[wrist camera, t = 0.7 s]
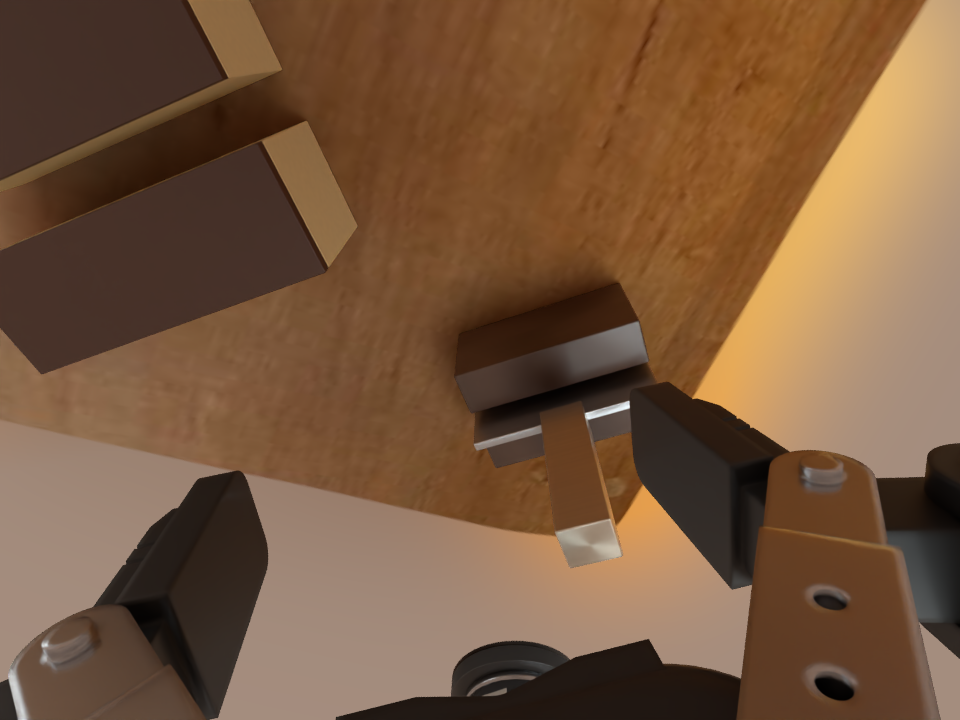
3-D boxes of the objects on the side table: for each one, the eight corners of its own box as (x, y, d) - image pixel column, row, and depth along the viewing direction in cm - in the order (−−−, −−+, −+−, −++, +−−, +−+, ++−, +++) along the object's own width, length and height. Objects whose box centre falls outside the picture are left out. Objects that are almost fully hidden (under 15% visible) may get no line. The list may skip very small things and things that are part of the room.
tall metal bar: (628, 316, 33) (715, 493, 20) (636, 346, 34) (724, 534, 21) (471, 364, 35) (460, 555, 22) (483, 391, 36) (479, 589, 23)
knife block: (619, 282, 32) (639, 319, 28) (643, 376, 35) (665, 423, 31) (458, 333, 34) (453, 376, 30) (495, 418, 37) (495, 468, 33)
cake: (215, -71, 24) (124, -107, 18) (358, 226, 31) (325, 272, 25) (-62, 71, 27) (-220, 80, 21) (121, 314, 34) (41, 375, 28)
